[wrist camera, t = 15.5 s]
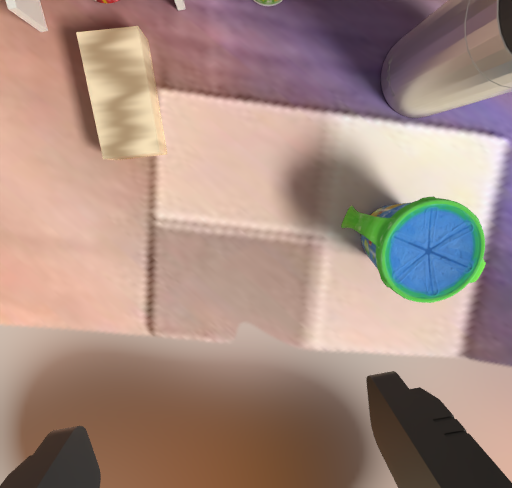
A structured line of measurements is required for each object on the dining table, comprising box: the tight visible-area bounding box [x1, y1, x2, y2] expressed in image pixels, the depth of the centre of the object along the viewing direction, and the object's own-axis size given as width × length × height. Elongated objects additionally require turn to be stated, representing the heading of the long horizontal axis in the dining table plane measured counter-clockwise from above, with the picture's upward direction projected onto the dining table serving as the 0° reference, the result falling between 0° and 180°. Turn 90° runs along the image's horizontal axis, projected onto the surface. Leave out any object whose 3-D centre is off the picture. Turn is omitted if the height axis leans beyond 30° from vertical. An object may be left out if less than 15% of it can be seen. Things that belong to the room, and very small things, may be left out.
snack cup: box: [341, 197, 486, 303], centre depth 36 cm, size 16×10×10 cm
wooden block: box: [76, 26, 167, 160], centre depth 35 cm, size 6×4×12 cm
